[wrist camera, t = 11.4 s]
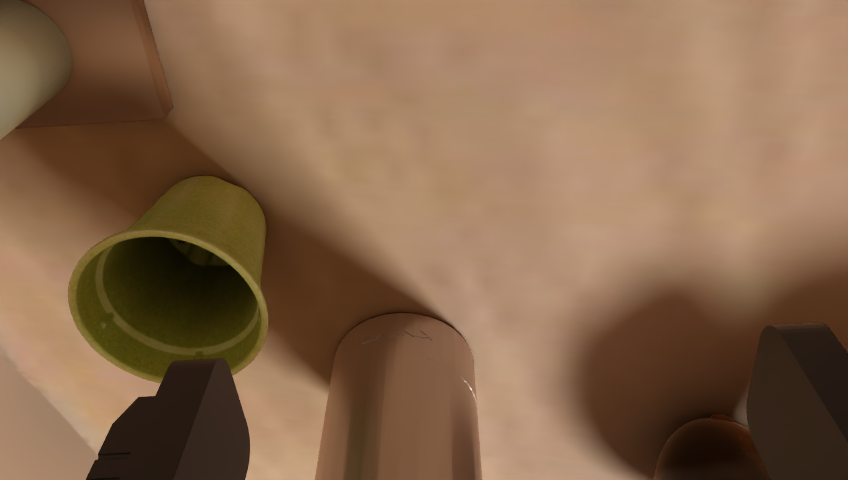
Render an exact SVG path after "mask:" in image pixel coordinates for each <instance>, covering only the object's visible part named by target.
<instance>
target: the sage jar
mask: <svg viewBox="0 0 848 480" xmlns="http://www.w3.org/2000/svg"><path fill="white" fill-rule="evenodd" d="M71 70H72V58H71V53H70V49H69V46H68V44H67V41H66V39H65V37H64V36H63V34H62V32H61V31H60V29H59V28H58V27H57V26H56V24H55V23H54V22H53V21H52V20H51V19H50V18H49V17H48V16H47V15H45V14H44V13H43V12H42V11H40V10H39V9H37V8H36V7H34V6H32V5H30V4H28V3H26V2H23V1H20V0H0V140H1V139H2V138H3V137H5V136H6V135H7V134H8V133H10V132H11V131H12V130H13V129H15V128H16V127H17V126H18V125H19V124H21V123H22V122H23V121H24V120H26V119H27V118H28V117H29V116H30V115H32V114H33V113H34V112H35V111H37V110H38V109H39V108H40V107H42V106H43V105H44V104H45V103H46V102H48V101H49V100H50V99H51V98H53V97H54V96H55V95H56V94H57V93H59V92H60V91H61V90H62V89H63V88H64V87H65V85H66V84H67V82H68V80H69V78H70V75H71Z"/></svg>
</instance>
